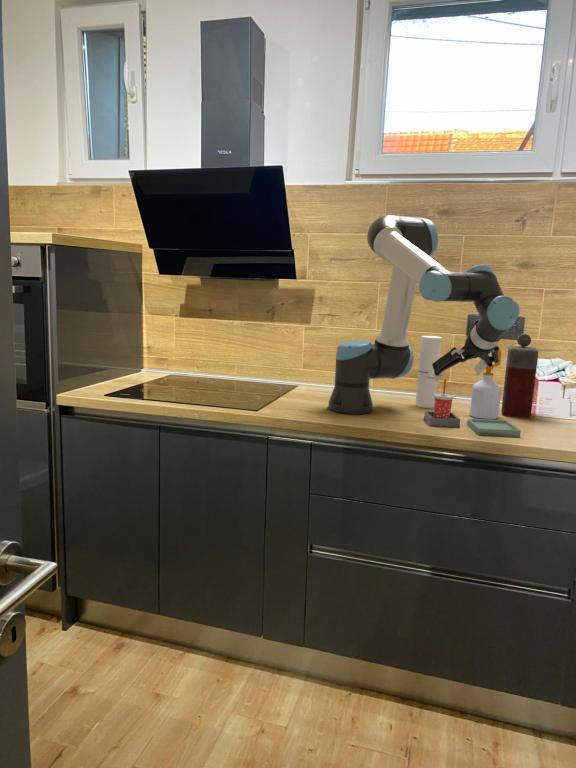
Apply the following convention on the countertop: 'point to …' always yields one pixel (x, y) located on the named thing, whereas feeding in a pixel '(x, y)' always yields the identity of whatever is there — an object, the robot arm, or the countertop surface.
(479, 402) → the soap bottle
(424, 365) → the cylindrical container
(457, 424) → the socket collar
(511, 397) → the dark red bottle
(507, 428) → the tray
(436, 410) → the beverage cup
